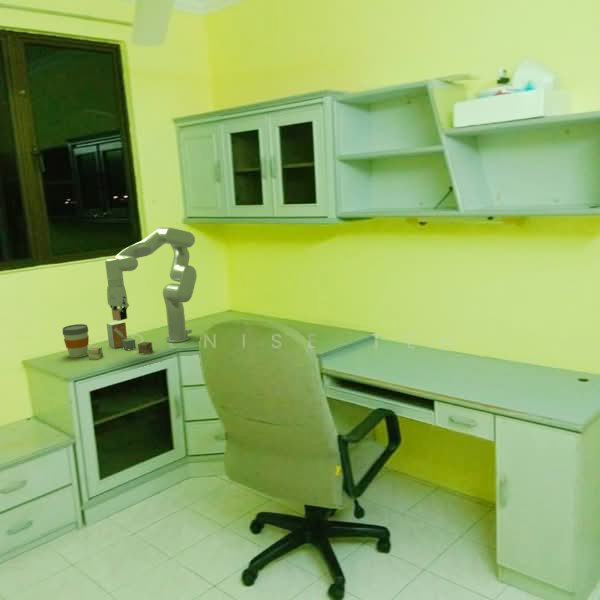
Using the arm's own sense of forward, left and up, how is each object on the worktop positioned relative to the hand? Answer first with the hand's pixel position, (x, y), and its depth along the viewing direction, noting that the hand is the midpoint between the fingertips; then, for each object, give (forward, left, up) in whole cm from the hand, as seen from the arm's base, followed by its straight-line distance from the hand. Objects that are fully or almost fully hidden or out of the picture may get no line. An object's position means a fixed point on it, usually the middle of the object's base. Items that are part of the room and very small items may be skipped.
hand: (120, 318), depth 301 cm
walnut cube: (-10, +5, -20) cm, 23 cm away
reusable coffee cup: (+9, -25, -20) cm, 33 cm away
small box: (-12, -19, -20) cm, 30 cm away
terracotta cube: (0, 0, -1) cm, 1 cm away
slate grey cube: (-11, -9, -20) cm, 25 cm away
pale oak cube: (+8, -12, -20) cm, 25 cm away
